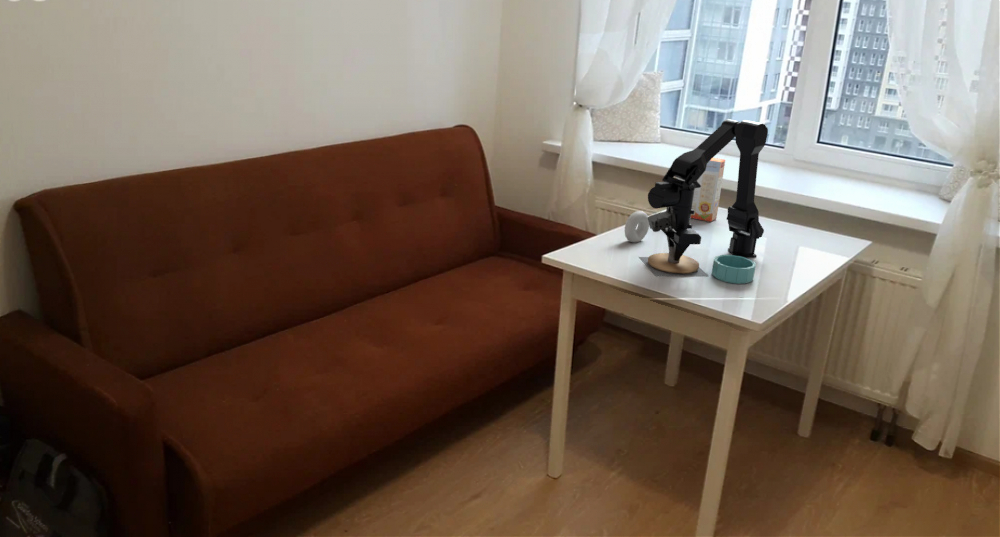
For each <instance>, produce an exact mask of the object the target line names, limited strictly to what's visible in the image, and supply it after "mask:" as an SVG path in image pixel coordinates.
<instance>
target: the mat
mask: <svg viewBox="0 0 1000 537" xmlns="http://www.w3.org/2000/svg"><path fill="white" fill-rule="evenodd" d="M648 257H649V256H639V257H638V258H639V259H640V260H641V262H643V264H645V267H647V268H648V269H649V270H650V272H651V273H652V274H653V275H654V276H655V277H709V274H707V272H705V271H704V270H703V269H702V268H701V267H700V266H699V269H698V270H697V271H695V272H691V273H671V272H666V271H662V270H659V269H656V268H654V267H652V266H651V265H649V263H648Z"/></svg>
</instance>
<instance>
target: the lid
mask: <svg viewBox="0 0 1000 537" xmlns="http://www.w3.org/2000/svg"><path fill="white" fill-rule="evenodd" d="M647 257H648V263H649V265H651V266H652V267H654V268H656V269H659V270H662V271H666V272H671V273H691V272H695V271H697V270H698V269H699V267H700V263H699V261H697V260H696V259H695V258H692V257H691V256H687V255H682V256H681V258H680V259H679V260H678V261H675V260H674V246H670V248H669V247H668V252H662V253H661V252H660V253H654V254H651V255H650V256H647Z"/></svg>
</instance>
